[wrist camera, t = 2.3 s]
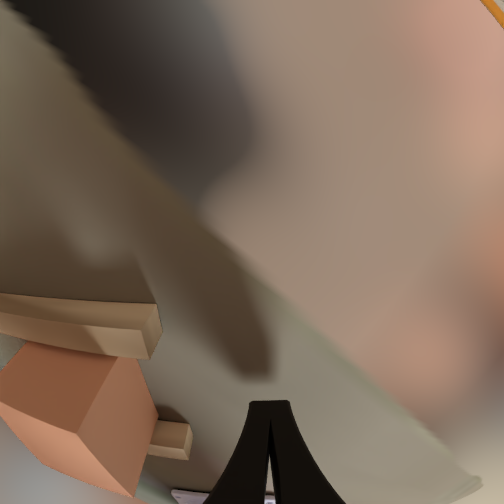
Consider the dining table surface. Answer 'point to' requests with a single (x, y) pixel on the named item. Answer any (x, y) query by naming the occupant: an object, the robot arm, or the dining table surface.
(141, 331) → the parallel wooden rails
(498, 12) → the supplement box
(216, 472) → the dining table surface
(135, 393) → the terracotta block
